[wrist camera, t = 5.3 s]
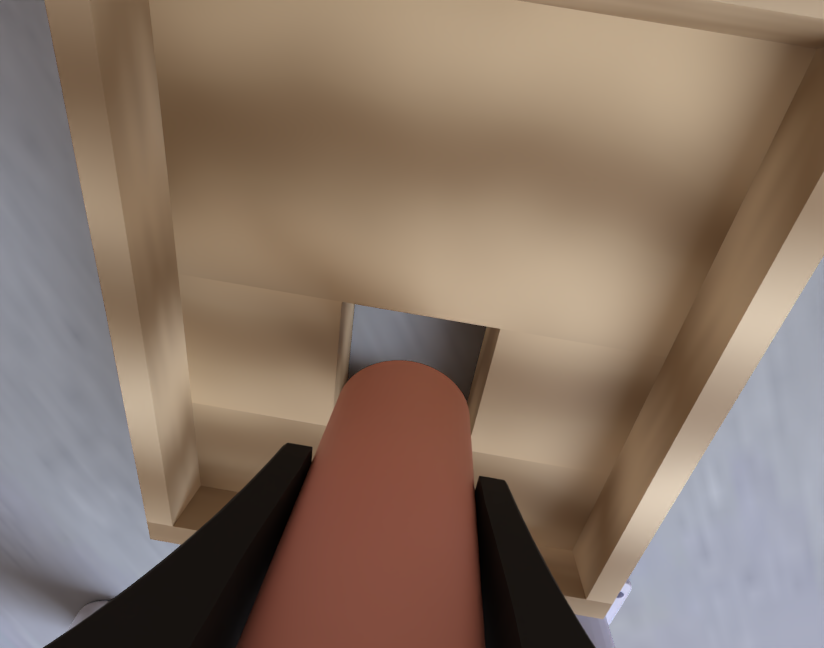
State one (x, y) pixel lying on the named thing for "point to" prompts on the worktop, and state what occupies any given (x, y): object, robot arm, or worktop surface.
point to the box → (449, 231)
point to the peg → (381, 525)
